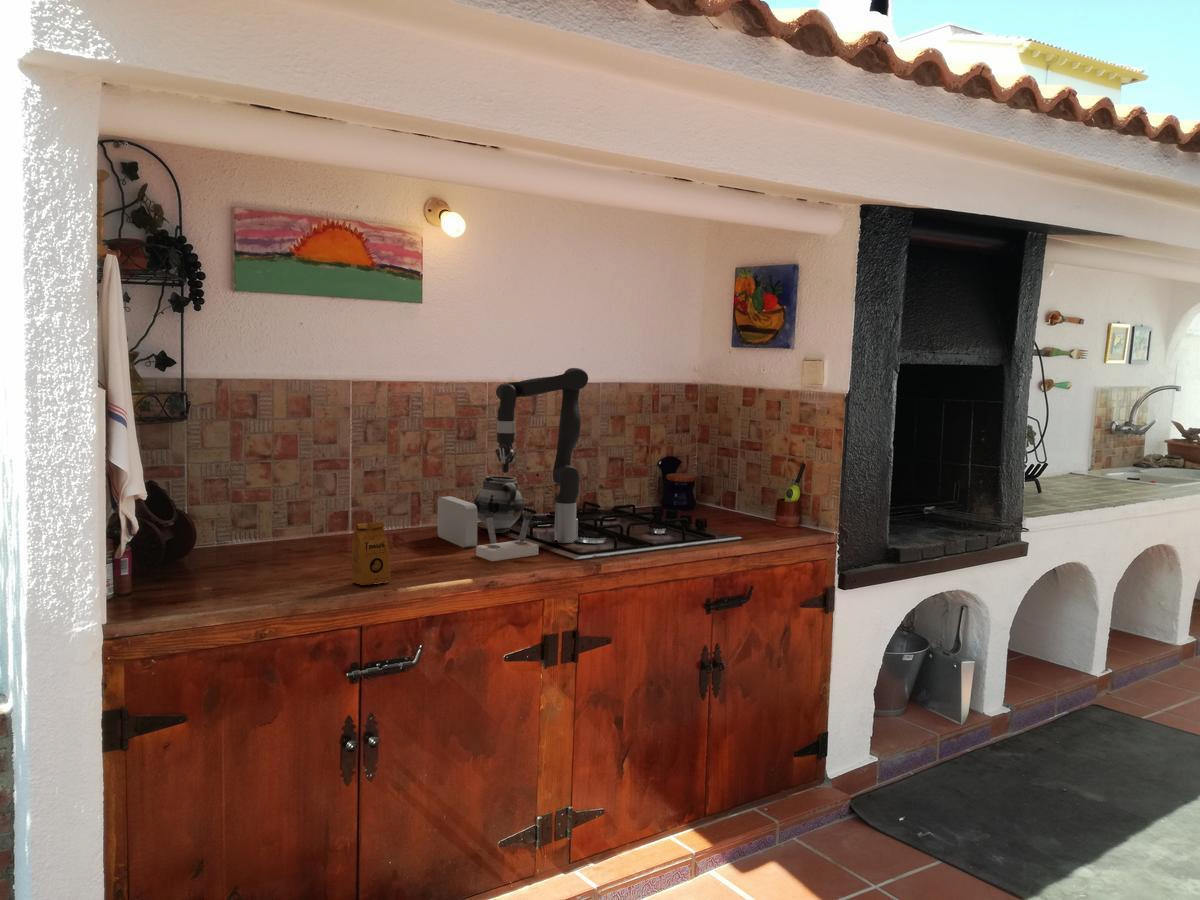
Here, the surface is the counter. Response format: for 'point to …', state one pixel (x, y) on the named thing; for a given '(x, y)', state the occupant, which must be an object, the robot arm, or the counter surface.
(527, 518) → the lever
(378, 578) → the coffee package
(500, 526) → the ceramic pot
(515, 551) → the switch unit
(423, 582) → the counter surface
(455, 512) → the rounded white slab
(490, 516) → the lever
